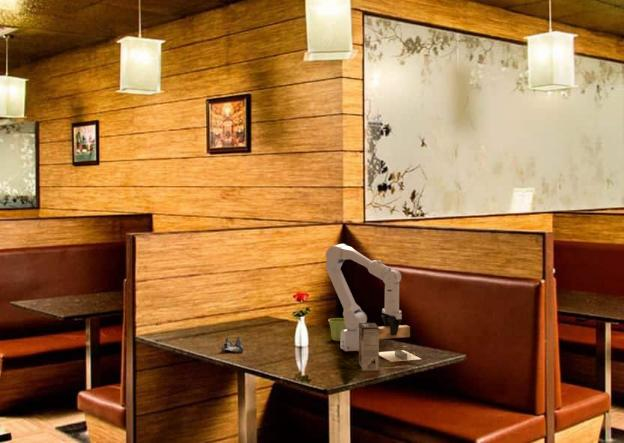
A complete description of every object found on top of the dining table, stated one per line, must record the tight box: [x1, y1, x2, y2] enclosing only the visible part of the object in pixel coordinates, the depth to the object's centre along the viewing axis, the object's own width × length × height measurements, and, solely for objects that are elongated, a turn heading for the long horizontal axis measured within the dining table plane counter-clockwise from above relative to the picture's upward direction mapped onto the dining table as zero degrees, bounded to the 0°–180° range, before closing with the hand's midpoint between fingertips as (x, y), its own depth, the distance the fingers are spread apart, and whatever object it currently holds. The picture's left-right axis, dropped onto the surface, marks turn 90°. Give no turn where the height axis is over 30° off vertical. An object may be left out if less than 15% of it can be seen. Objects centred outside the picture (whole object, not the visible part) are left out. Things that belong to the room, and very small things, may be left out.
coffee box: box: [358, 322, 380, 372], centre depth 300 cm, size 9×6×16 cm
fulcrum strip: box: [394, 349, 407, 360], centre depth 313 cm, size 2×7×2 cm, turn 19°
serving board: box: [379, 349, 422, 363], centre depth 316 cm, size 13×16×1 cm
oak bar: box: [378, 324, 411, 340], centre depth 321 cm, size 14×4×4 cm, turn 109°
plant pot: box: [327, 317, 347, 342], centre depth 350 cm, size 9×9×9 cm
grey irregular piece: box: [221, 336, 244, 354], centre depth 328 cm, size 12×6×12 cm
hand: (391, 334), depth 321 cm, fingers closed on oak bar, 4 cm apart
